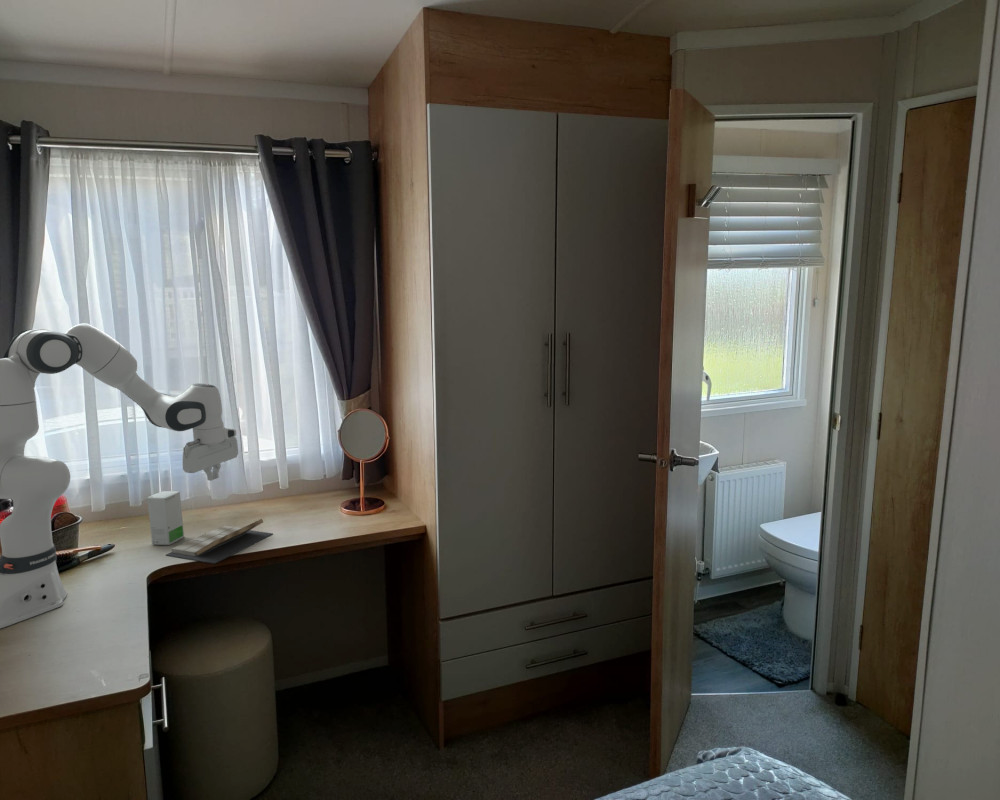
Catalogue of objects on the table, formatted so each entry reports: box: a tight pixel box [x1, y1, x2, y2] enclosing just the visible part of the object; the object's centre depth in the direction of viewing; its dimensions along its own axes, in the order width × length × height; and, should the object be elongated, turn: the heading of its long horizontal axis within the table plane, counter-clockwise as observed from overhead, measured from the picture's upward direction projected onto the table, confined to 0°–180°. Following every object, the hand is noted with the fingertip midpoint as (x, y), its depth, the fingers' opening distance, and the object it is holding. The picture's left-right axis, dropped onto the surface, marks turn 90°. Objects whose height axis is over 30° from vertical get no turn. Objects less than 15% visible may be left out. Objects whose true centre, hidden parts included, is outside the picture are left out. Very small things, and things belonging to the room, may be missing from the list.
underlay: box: [165, 529, 274, 565], centre depth 227 cm, size 26×19×1 cm
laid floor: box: [171, 525, 242, 556], centre depth 229 cm, size 22×9×1 cm, turn 158°
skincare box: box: [146, 490, 185, 546], centre depth 230 cm, size 8×7×16 cm
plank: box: [195, 518, 264, 555], centre depth 225 cm, size 22×8×1 cm, turn 158°
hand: (213, 479), depth 222 cm, fingers closed
